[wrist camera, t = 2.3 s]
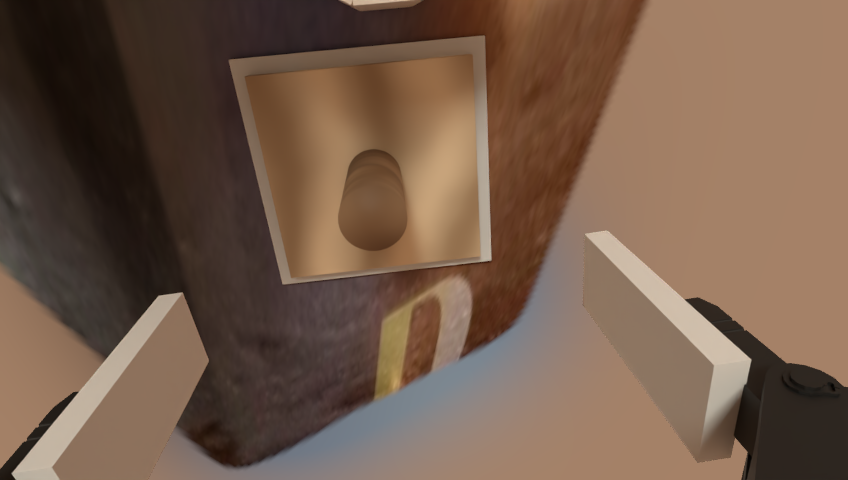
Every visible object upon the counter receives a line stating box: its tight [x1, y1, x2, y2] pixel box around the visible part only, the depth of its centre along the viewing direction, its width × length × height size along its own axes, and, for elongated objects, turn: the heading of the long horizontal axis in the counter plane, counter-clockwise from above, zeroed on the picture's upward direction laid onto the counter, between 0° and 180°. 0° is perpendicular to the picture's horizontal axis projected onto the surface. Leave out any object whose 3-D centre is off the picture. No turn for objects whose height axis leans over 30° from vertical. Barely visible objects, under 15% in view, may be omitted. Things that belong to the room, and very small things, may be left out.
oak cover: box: [245, 54, 481, 278], centre depth 29 cm, size 14×14×9 cm
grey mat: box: [229, 35, 491, 285], centre depth 33 cm, size 16×16×1 cm
